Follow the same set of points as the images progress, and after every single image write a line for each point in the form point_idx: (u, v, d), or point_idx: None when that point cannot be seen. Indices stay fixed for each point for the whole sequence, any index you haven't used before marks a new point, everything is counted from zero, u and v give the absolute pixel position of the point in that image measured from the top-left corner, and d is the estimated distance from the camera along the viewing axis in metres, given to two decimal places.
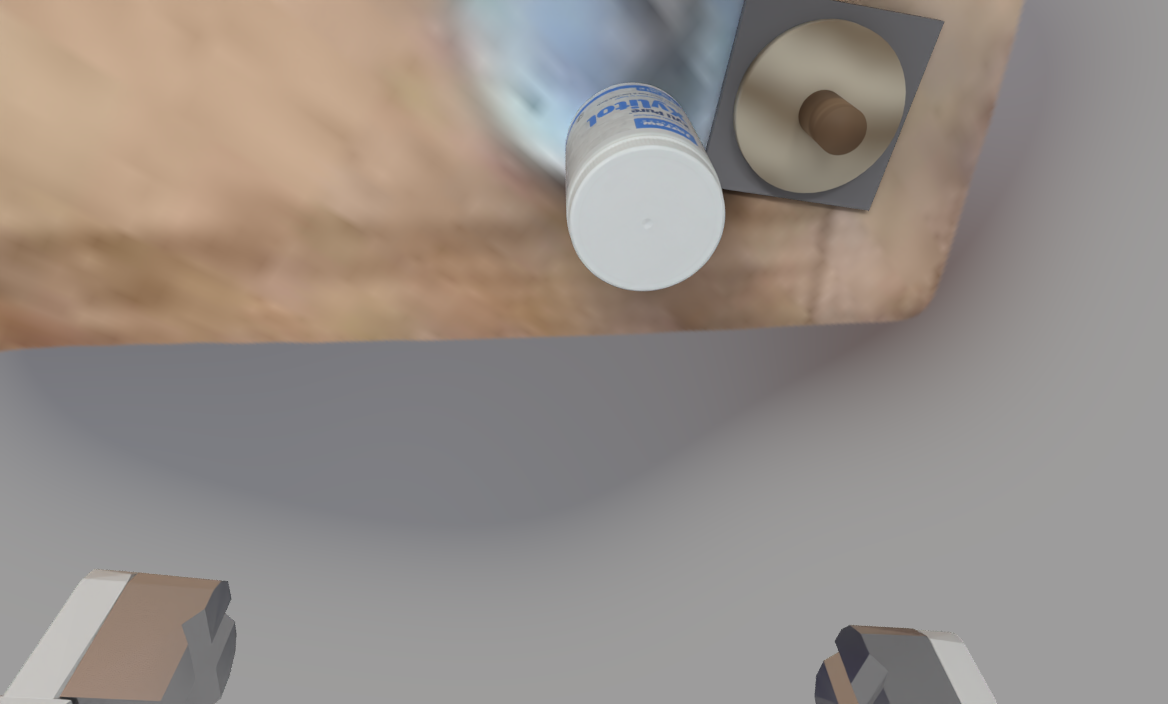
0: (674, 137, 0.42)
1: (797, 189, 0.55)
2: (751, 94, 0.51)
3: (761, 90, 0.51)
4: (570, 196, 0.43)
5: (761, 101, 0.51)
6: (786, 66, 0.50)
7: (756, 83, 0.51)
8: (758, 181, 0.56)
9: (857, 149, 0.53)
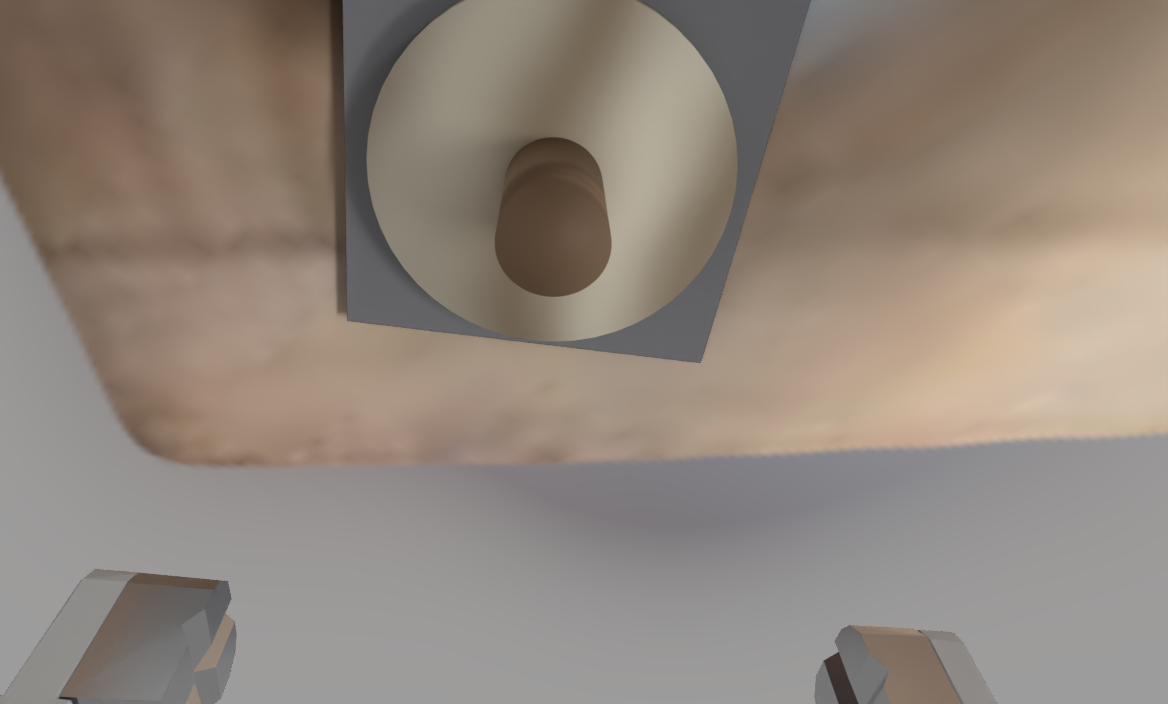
0: None
1: (373, 166, 0.23)
2: (595, 12, 0.21)
3: (604, 37, 0.21)
4: None
5: (578, 41, 0.21)
6: (656, 90, 0.22)
7: (620, 21, 0.21)
8: (376, 66, 0.23)
9: (479, 275, 0.25)
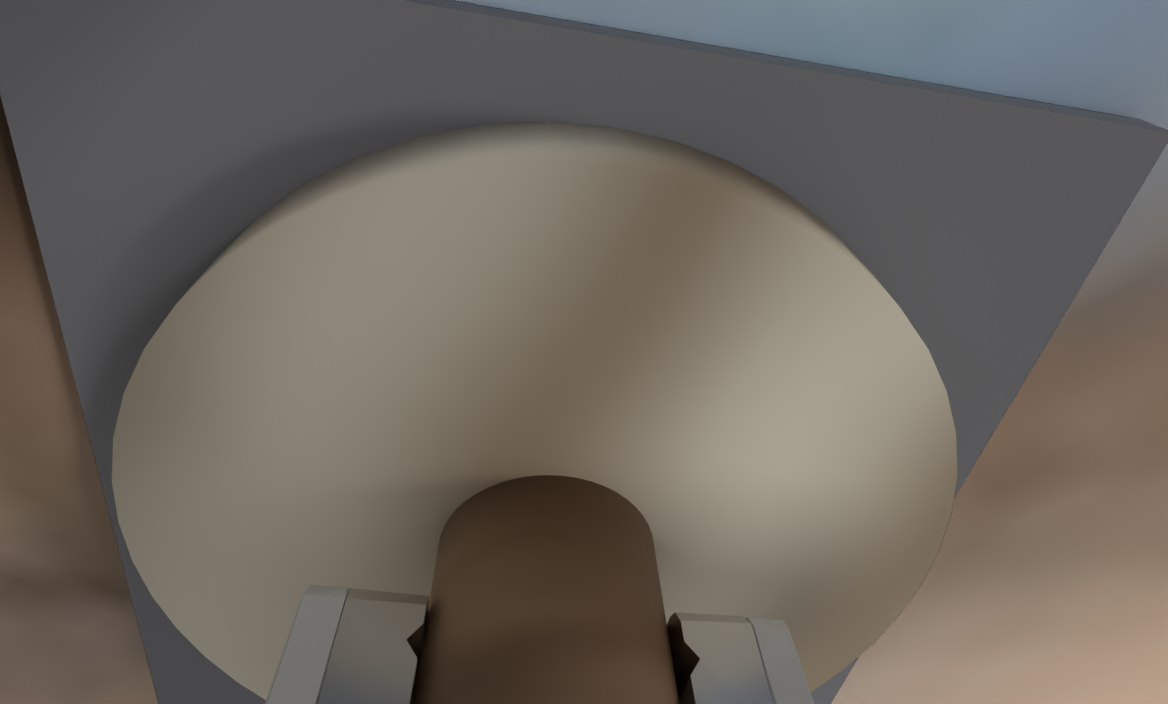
0: None
1: (136, 533, 0.10)
2: (651, 230, 0.08)
3: (671, 283, 0.08)
4: None
5: (606, 293, 0.08)
6: (789, 386, 0.09)
7: (716, 250, 0.08)
8: (134, 313, 0.10)
9: None
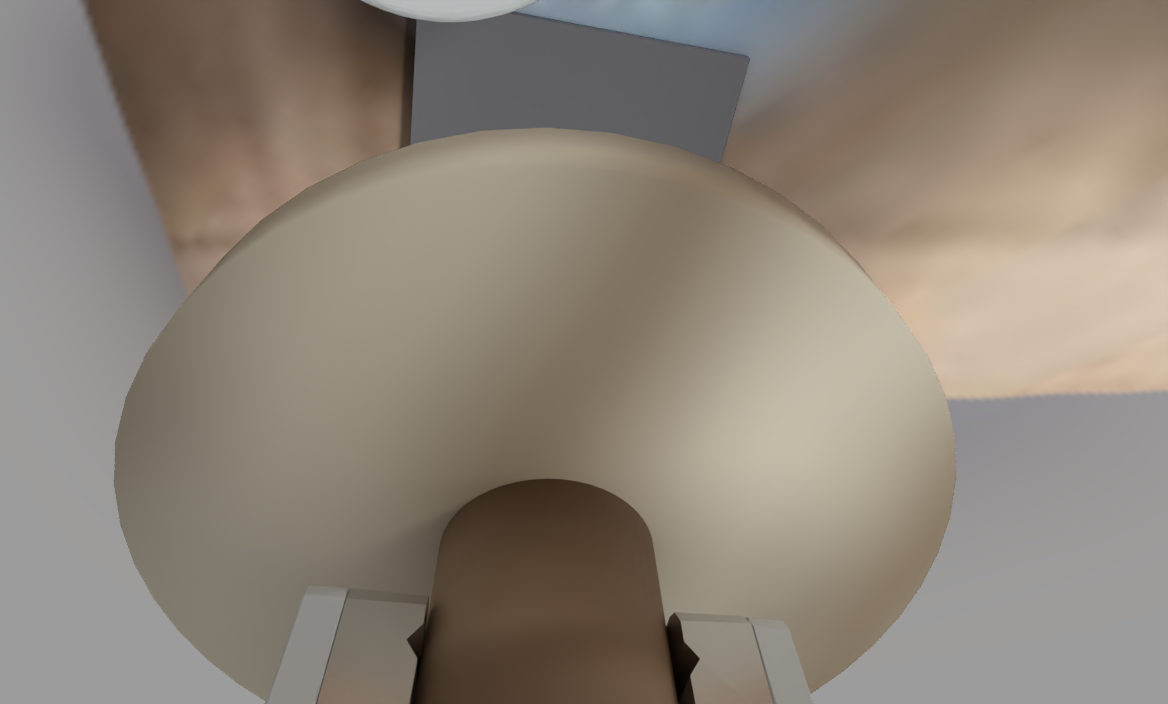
0: None
1: (139, 536, 0.10)
2: (651, 235, 0.08)
3: (670, 288, 0.08)
4: None
5: (606, 298, 0.08)
6: (787, 390, 0.09)
7: (715, 255, 0.08)
8: (435, 112, 0.32)
9: None
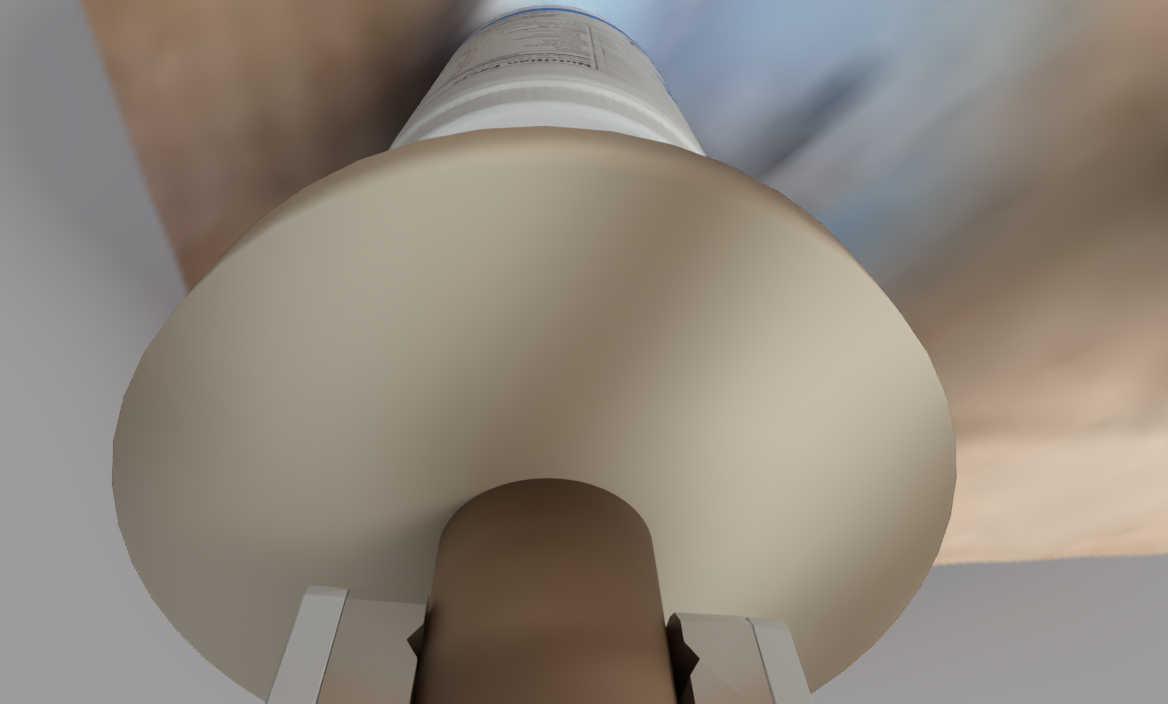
0: None
1: (138, 536, 0.10)
2: (650, 234, 0.08)
3: (670, 287, 0.08)
4: (599, 93, 0.15)
5: (605, 296, 0.08)
6: (788, 389, 0.09)
7: (715, 254, 0.08)
8: None
9: None
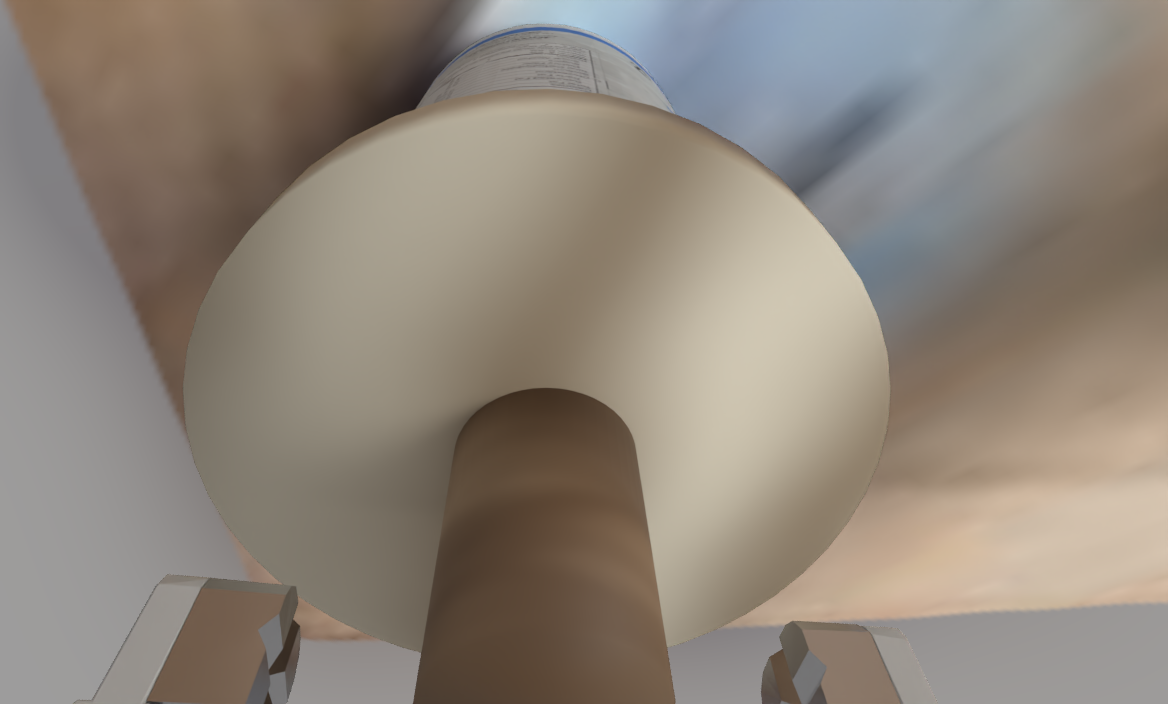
0: None
1: (200, 436, 0.12)
2: (632, 174, 0.10)
3: (649, 219, 0.10)
4: None
5: (596, 227, 0.10)
6: (747, 310, 0.11)
7: (685, 191, 0.10)
8: None
9: (414, 588, 0.14)
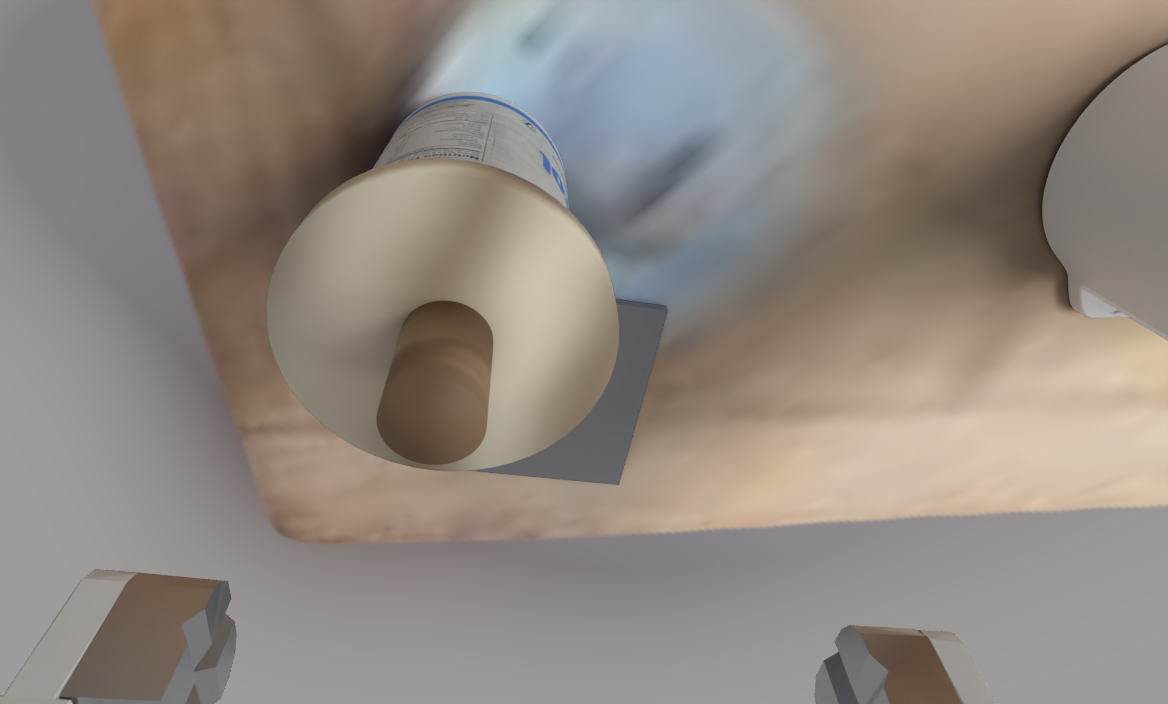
0: None
1: (272, 324, 0.24)
2: (477, 198, 0.22)
3: (486, 218, 0.23)
4: None
5: (463, 221, 0.23)
6: (538, 262, 0.24)
7: (501, 206, 0.23)
8: None
9: None
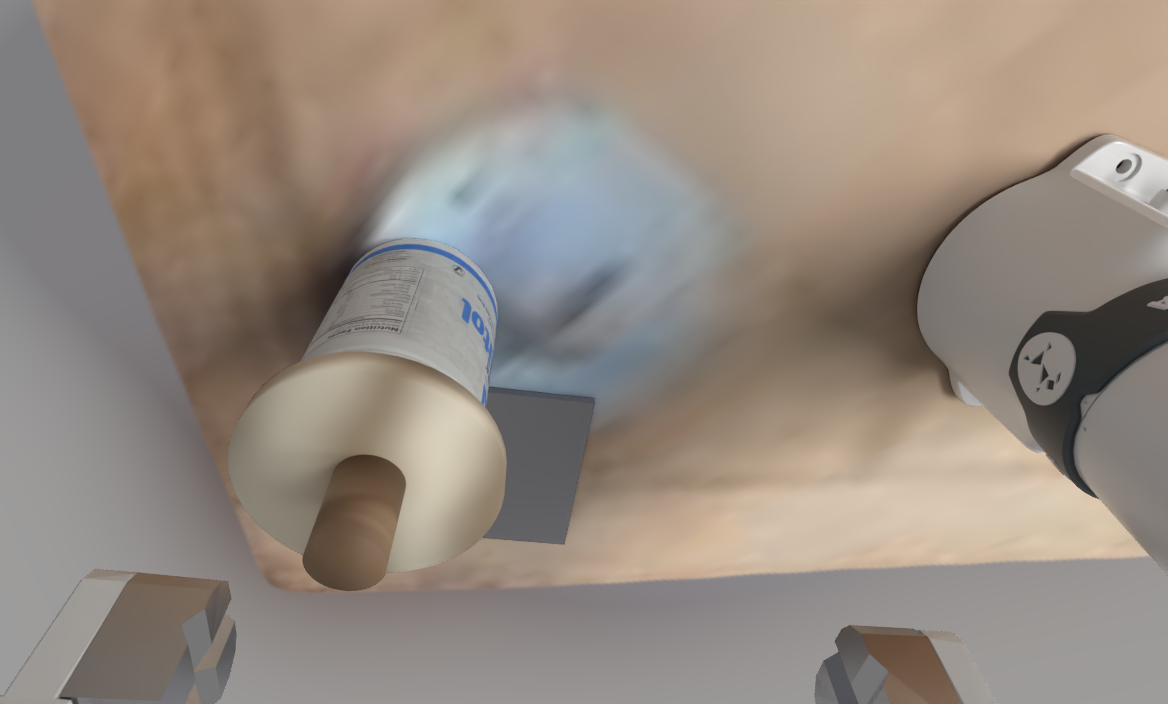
0: None
1: (233, 471, 0.32)
2: (383, 386, 0.29)
3: (392, 400, 0.30)
4: None
5: (374, 402, 0.30)
6: (435, 428, 0.31)
7: (403, 391, 0.30)
8: None
9: None
